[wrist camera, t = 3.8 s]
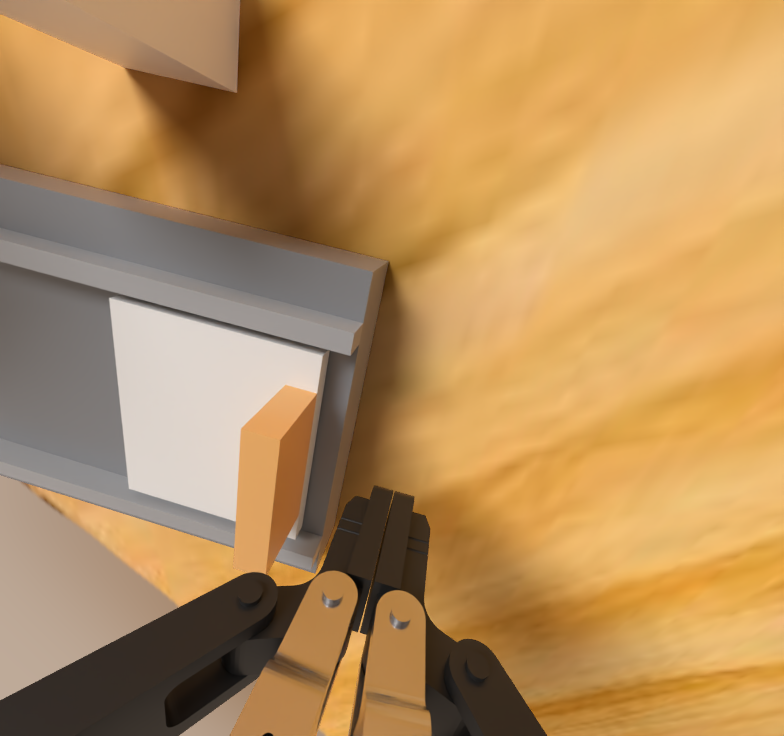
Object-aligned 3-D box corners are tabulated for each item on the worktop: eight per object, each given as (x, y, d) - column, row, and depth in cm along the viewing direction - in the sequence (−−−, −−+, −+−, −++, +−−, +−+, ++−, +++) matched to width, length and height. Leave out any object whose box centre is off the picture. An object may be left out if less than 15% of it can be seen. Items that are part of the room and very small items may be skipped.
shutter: (330, 348, 13) (285, 395, 10) (302, 525, 17) (262, 605, 14) (127, 293, 14) (17, 319, 10) (142, 477, 18) (65, 541, 14)
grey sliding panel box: (388, 261, 15) (364, 277, 11) (334, 526, 21) (306, 596, 17) (-10, 161, 16) (-156, 145, 12) (48, 440, 22) (-38, 487, 18)
